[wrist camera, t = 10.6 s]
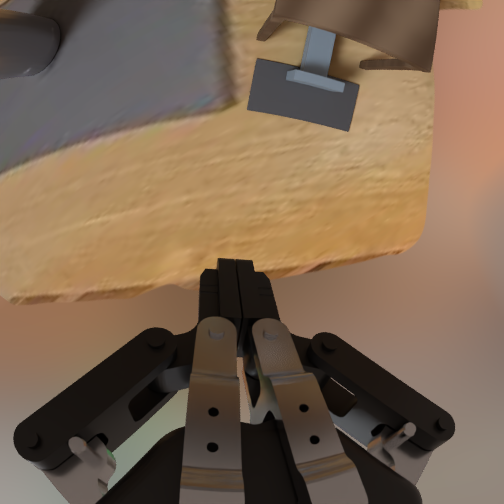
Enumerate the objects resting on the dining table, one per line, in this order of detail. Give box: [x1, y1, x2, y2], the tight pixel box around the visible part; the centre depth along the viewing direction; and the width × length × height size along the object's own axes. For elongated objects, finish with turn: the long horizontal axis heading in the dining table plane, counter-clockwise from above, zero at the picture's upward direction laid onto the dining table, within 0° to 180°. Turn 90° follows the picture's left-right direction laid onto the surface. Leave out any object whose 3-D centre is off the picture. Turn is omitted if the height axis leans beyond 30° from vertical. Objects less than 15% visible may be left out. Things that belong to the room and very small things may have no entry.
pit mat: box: [247, 59, 359, 132], centre depth 32 cm, size 14×7×1 cm, turn 80°
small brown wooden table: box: [257, 0, 440, 72], centre depth 21 cm, size 15×10×14 cm, turn 80°
